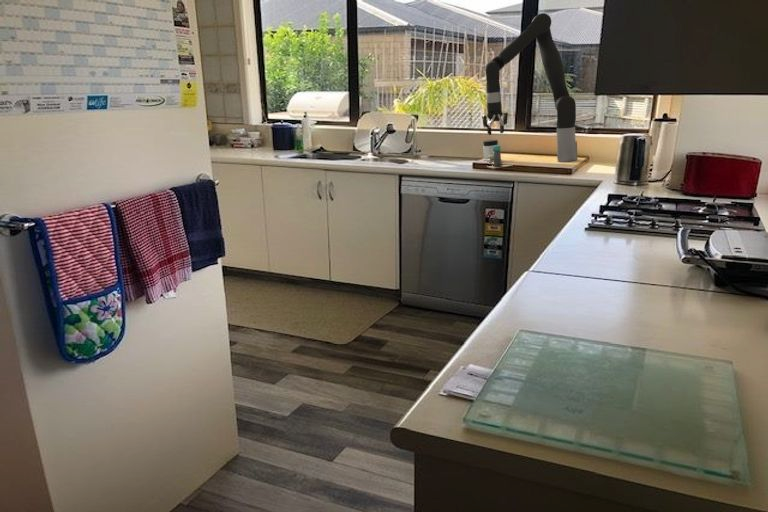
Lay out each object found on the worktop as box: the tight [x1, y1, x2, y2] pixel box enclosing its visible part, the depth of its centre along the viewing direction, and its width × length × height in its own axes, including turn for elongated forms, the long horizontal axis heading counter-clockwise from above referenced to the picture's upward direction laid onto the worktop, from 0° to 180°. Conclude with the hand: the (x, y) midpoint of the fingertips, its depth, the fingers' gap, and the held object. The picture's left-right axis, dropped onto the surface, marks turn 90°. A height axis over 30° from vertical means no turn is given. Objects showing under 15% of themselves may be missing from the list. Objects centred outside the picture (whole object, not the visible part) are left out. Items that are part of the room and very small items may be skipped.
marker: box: [493, 144, 502, 167], centre depth 316 cm, size 4×4×11 cm
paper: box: [485, 164, 514, 169], centre depth 319 cm, size 12×9×1 cm
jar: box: [482, 139, 499, 160], centre depth 338 cm, size 9×8×12 cm
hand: (495, 133), depth 313 cm, fingers open, 6 cm apart
